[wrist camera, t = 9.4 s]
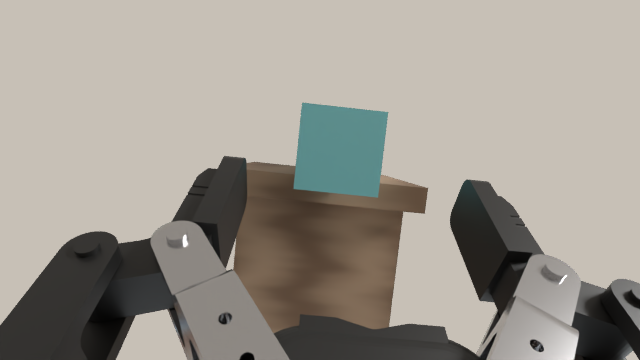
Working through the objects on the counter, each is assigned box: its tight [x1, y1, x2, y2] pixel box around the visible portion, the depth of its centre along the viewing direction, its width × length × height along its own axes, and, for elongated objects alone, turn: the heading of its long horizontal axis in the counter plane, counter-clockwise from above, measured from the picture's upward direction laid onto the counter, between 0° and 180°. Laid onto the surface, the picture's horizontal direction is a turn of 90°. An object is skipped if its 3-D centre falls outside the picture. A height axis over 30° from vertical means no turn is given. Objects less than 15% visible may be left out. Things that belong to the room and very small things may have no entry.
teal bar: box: [294, 103, 388, 198], centre depth 24 cm, size 3×24×3 cm, turn 1°
